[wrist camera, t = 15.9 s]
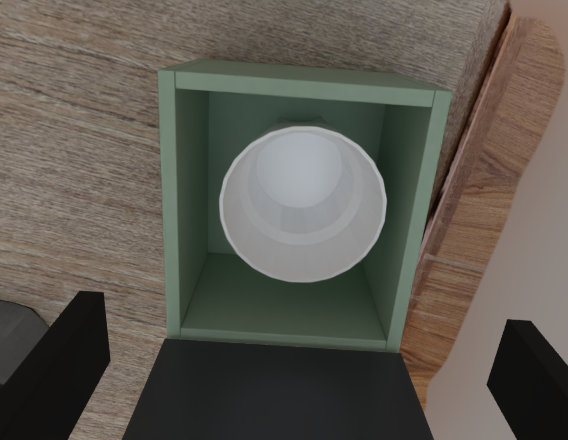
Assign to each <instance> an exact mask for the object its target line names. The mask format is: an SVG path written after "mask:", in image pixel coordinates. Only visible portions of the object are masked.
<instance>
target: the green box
mask: <svg viewBox="0 0 568 440" xmlns="http://www.w3.org/2000/svg"><path fill="white" fill-rule="evenodd" d="M157 73H158V101H159V129H160V157H161V185H162V213H163V241H164V269H165V297H166V325H167V338H169V339H180V338H181V339H187V340H203V341H219V342H235V343H251V344H267V345H283V346H299V347H315V348H331V349H347V350H363V351H379V352H384V351H385V352H390V353H398V352H399V348H400V343H401V338H402V333H403V328H404V323H405V319H406V314H407V309H408V304H409V299H410V294H411V290H412V285H413V280H414V275H415V270H416V266H417V261H418V256H419V251H420V246H421V241H422V237H423V232H424V227H425V222H426V217H427V212H428V208H429V203H430V198H431V193H432V188H433V183H434V179H435V174H436V169H437V164H438V159H439V154H440V150H441V145H442V140H443V135H444V130H445V126H446V121H447V116H448V111H449V106H450V101H451V97H452V91H450V90H447V89H444V88H441V87H438V86H435V85H432V84H429V83H426V82H423V81H420V80H417V79H414V78H411V77H408V76H405V75H402V74H399V73H386V72H373V71H360V70H346V69H333V68H320V67H306V66H293V65H280V64H266V63H253V62H240V61H226V60H213V59H197V60H193V61H189V62H185V63H181V64H178V65H174V66H170V67H166V68H162V69H159V70H158V71H157ZM279 116H280V117H282V118H285V119H287V120H289V121H312V120H314V119H316V118H319V117H321V116H322V118H323V119H324V120H325V121H326V122H327V123H328V124H329V125H331V126H332V127H334V128H335V129H337V130H338V131H339V132H341V133H342V134H344V135H345V136H347V137H348V138H350V139H351V140H352V141H354V142H355V143H357V144H358V145H359V146H360V147H361V148H362V149H363V150H364V151H365V152H366V153H367V154H368V156H369V157H370V158H371V159H372V160H373V161H374V163H375V165H376V167H377V169H378V171H379V173H380V175H381V177H382V179H383V182H384V187H385V193H386V198H387V205H386V214H385V222H384V224H383V227H382V229H381V232H380V235H379V237H378V240H377V241H376V242H375V244H374V245H373V247H372V248H371V249H370V251H369V252H368V253H367V255H366V256H365V257H364V258H363V259H361V260H360V261H359V262H358V263H356V264H355V265H354V266H353V267H352V268H350V269H349V270H347V271H345V272H343V273H341V274H338V275H336V276H334V277H332V278H329V279H325V280H320V281H315V282H288V281H284V280H280V279H275V278H271V277H269V276H267V275H265V274H263V273H261V272H260V271H258V270H256V269H254V268H252V267H251V266H250V265H249V264H248V263H247V262H245V261H244V260H243V259H242V258H241V257H240V256H239V255H238V254H237V253H236V251H235V250H234V248H233V247H232V245H231V244H230V242H229V241H228V240H227V238H226V235H225V232H224V229H223V226H222V223H221V220H220V205H219V197H220V193H221V189H222V185H223V180H224V177H225V176H226V174H227V172H228V170H229V169H230V167H231V165H232V163H233V161H234V160H235V159H236V158H237V157H238V156H239V155H240V154H241V153H242V152H243V151H244V150H245V149H246V148H247V147H248V146H249V145H250V144H251V143H252V142H253V141H254V140H255V139H256V138H257V137H258V136H260V135H261V134H262V133H263V132H264V131H266V130H267V129H268V128H270V127H271V126H272V125H274V124H275V123H276V121H277V119H278V117H279Z"/></svg>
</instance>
